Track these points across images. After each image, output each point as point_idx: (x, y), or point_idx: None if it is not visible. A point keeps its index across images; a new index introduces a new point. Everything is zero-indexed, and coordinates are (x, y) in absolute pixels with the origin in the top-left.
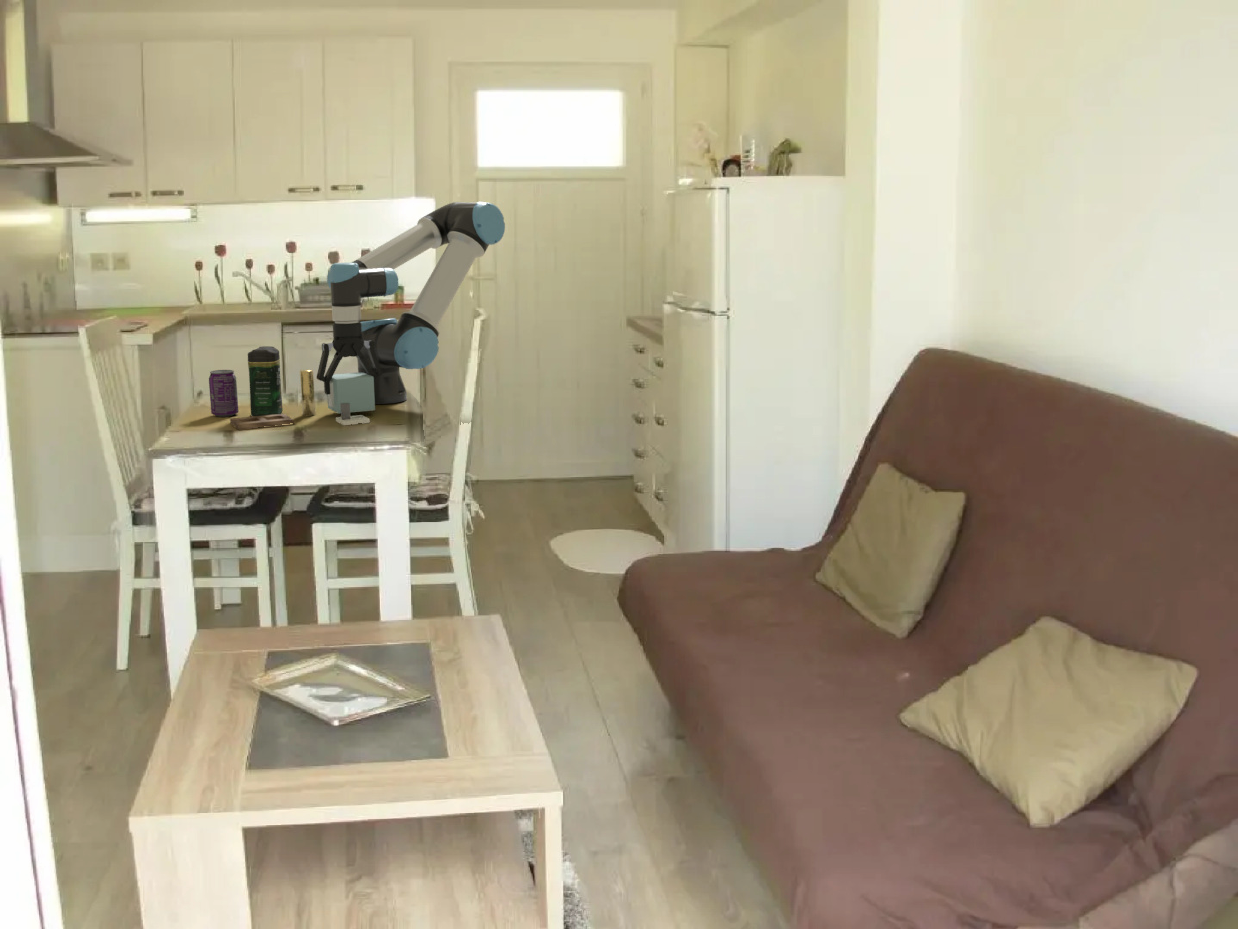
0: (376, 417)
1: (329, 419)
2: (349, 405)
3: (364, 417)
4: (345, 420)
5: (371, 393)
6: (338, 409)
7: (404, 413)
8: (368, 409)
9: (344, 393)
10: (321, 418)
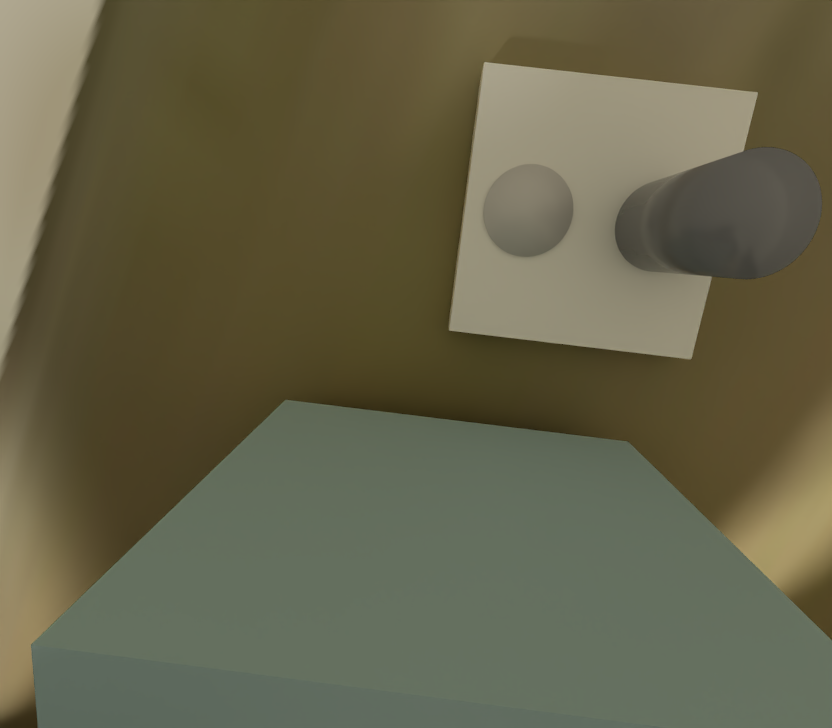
0: (319, 311)
1: (669, 461)
2: (702, 171)
3: (486, 183)
4: (712, 133)
5: (253, 472)
6: (640, 455)
7: (56, 345)
8: (344, 411)
9: (633, 536)
10: None
